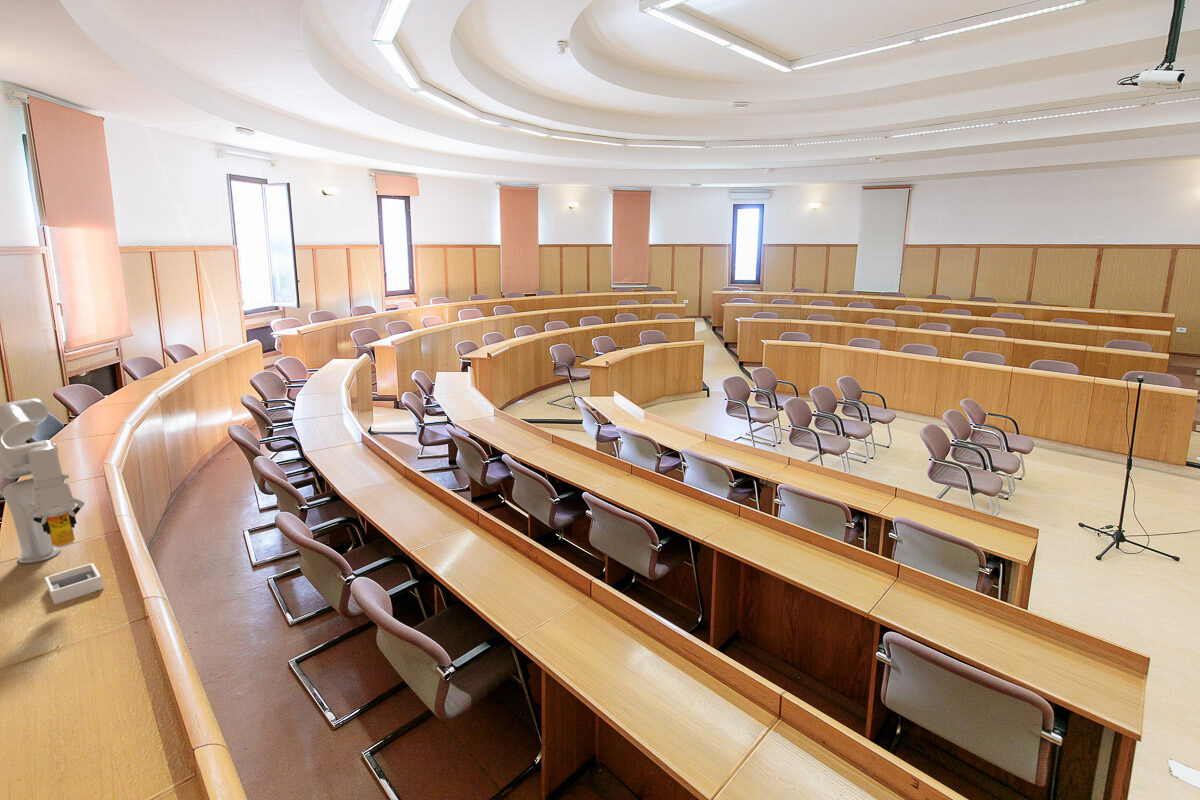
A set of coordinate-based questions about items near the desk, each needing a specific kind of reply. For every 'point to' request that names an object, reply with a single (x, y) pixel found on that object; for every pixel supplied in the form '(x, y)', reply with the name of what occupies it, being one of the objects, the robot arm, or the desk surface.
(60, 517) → the beer can
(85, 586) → the socket box
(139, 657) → the desk surface
